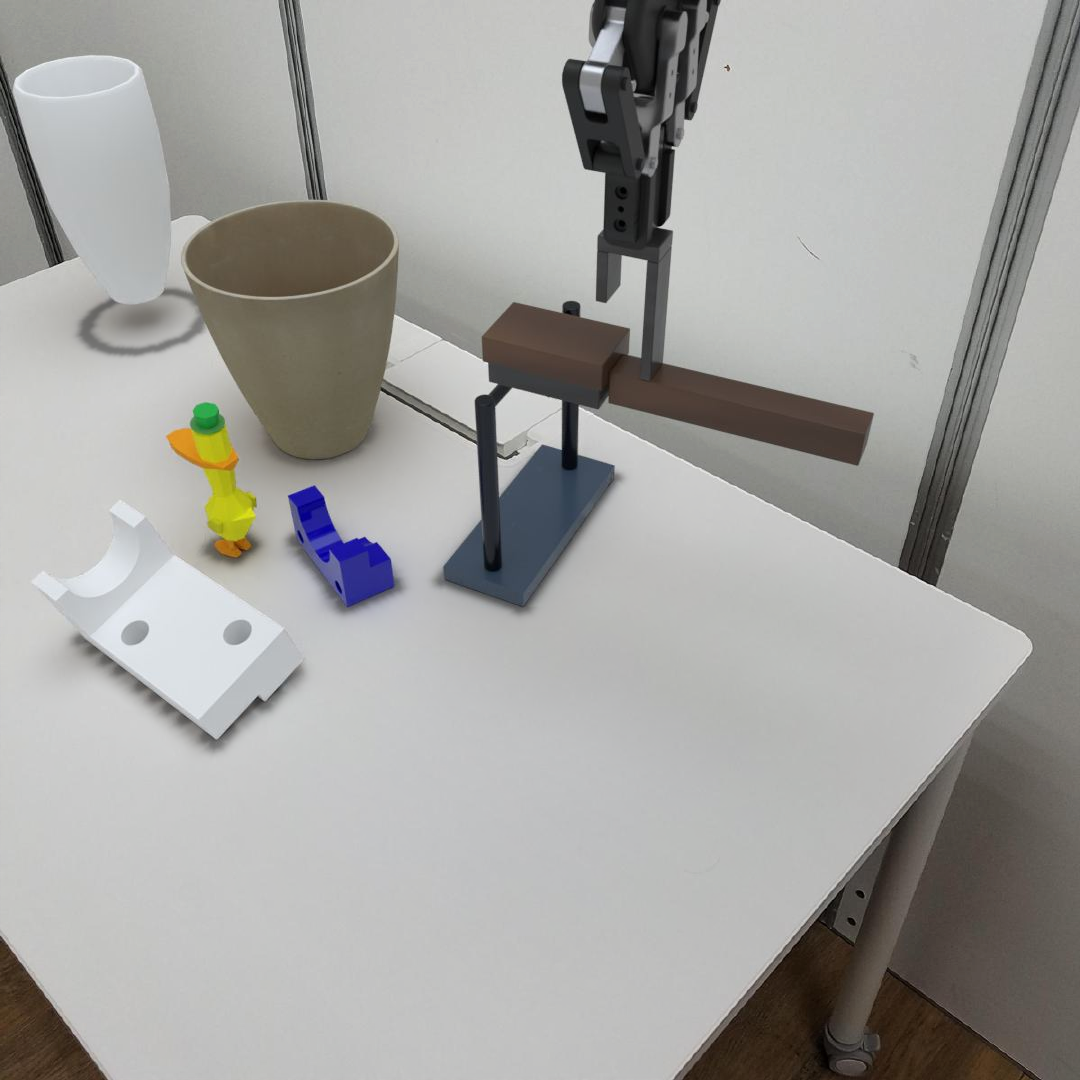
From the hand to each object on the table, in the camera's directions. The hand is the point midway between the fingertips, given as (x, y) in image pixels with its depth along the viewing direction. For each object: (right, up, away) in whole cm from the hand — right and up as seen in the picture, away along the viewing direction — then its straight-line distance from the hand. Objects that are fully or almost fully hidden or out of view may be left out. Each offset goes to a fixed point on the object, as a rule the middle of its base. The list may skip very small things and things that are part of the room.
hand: (637, 231), depth 54 cm
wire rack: (-5, -14, +25) cm, 29 cm away
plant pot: (-22, -7, +34) cm, 41 cm away
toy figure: (-26, -16, +24) cm, 39 cm away
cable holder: (-18, -17, +23) cm, 33 cm away
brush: (+2, -8, +6) cm, 10 cm away
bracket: (-27, -23, +16) cm, 39 cm away
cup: (-40, +5, +47) cm, 62 cm away
